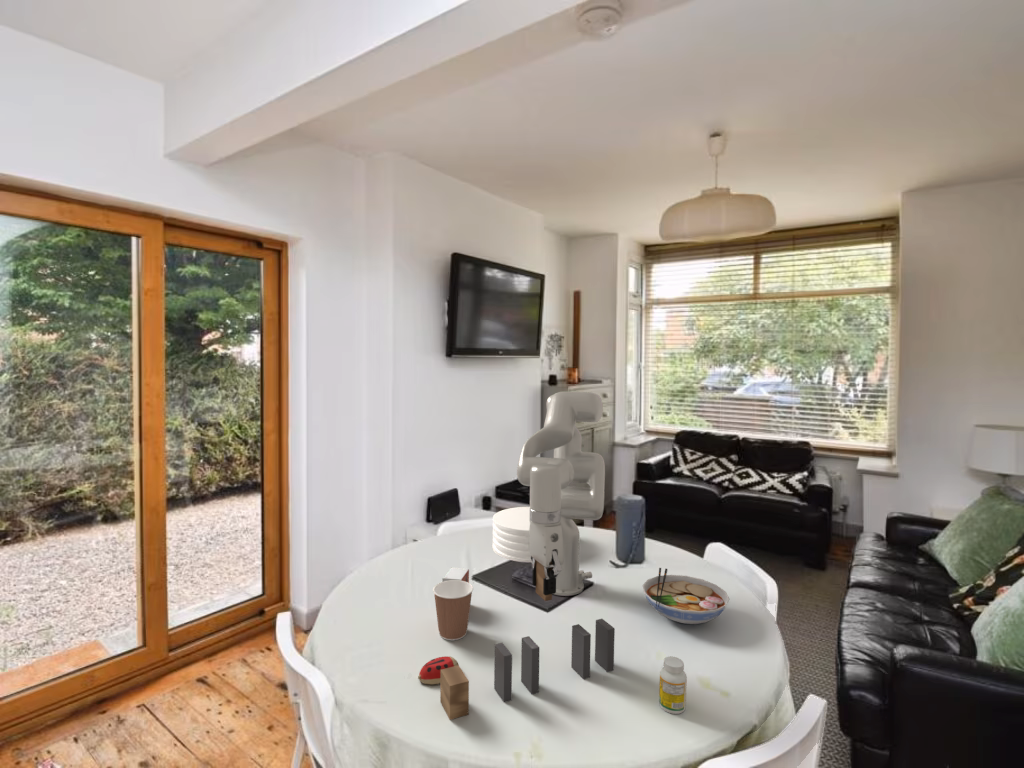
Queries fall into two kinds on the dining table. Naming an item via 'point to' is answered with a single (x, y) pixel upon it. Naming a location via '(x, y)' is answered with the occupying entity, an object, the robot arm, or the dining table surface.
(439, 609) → the coffee cup
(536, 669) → the domino
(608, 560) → the dining table surface
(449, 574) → the small box
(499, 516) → the plate stack
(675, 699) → the supplement bottle
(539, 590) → the domino
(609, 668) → the domino
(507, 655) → the domino
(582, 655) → the domino
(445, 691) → the end block
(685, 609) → the ramen bowl
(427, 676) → the ladybug figurine
